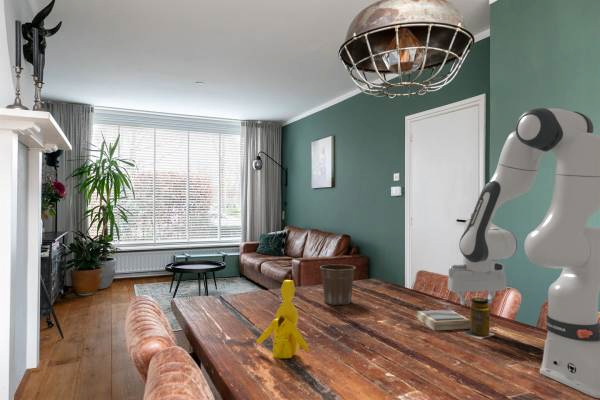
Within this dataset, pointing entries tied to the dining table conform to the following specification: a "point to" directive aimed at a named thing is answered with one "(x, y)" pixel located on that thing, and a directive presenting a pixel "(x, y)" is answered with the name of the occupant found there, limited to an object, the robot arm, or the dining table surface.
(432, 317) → the base
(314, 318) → the dining table surface
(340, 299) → the plant pot
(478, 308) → the condiment
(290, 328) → the figure statuette
